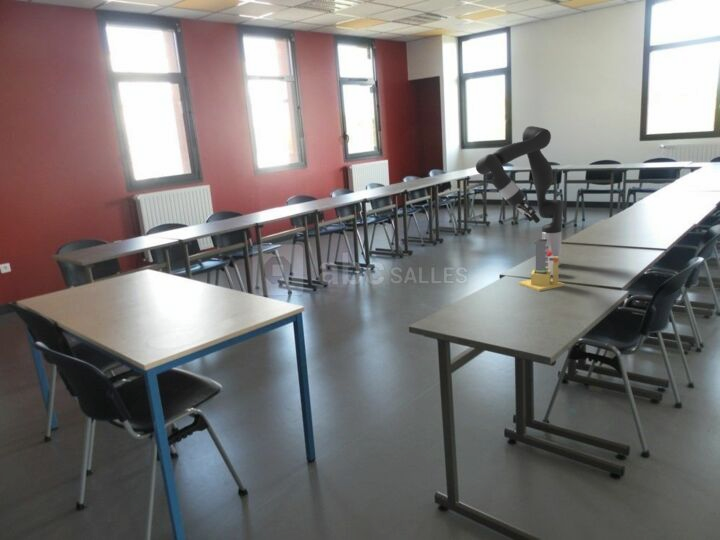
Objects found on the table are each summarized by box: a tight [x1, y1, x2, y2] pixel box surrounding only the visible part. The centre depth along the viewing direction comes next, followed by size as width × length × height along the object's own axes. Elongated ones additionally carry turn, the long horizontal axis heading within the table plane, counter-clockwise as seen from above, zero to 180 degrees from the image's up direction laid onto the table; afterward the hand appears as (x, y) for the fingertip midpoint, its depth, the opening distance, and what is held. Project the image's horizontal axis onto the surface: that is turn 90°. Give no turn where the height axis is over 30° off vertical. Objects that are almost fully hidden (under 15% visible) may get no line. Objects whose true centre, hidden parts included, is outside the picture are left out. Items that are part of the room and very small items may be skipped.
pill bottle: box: [546, 251, 554, 276], centre depth 255 cm, size 8×8×11 cm
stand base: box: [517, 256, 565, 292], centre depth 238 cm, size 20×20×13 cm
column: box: [534, 238, 548, 274], centre depth 237 cm, size 6×5×19 cm
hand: (535, 220), depth 232 cm, fingers open, 8 cm apart
